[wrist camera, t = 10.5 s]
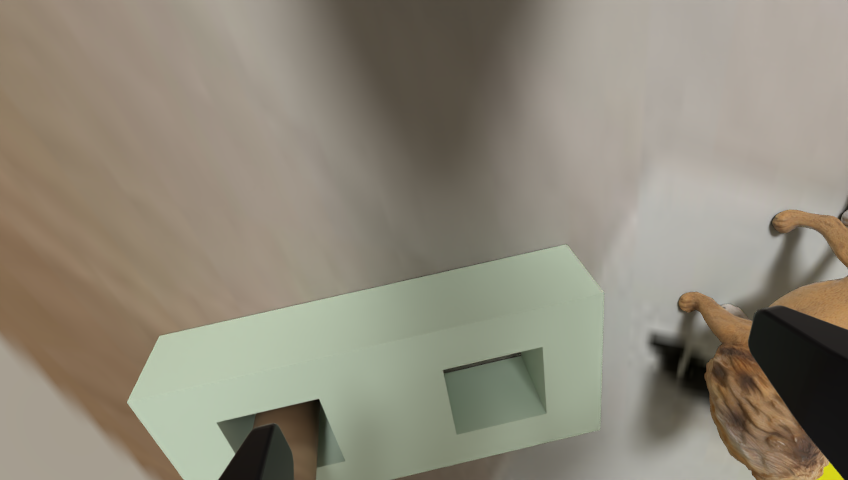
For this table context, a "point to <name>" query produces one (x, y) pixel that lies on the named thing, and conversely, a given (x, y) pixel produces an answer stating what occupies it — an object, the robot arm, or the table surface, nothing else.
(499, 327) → the hole block
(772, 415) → the lion figurine
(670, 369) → the table surface
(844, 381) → the robot arm
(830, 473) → the yellow toy chassis
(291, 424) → the peg
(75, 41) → the table surface
